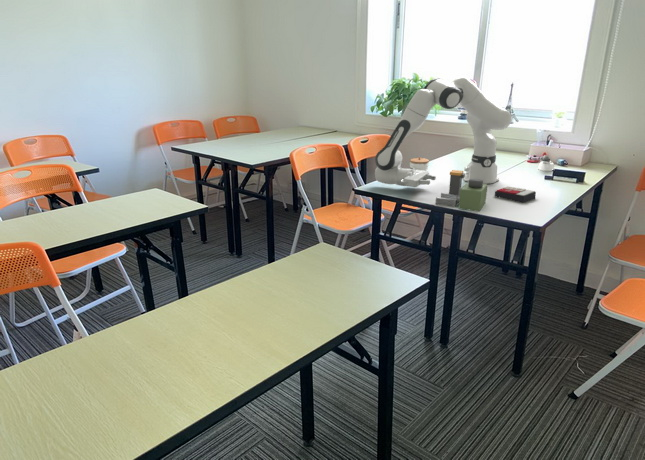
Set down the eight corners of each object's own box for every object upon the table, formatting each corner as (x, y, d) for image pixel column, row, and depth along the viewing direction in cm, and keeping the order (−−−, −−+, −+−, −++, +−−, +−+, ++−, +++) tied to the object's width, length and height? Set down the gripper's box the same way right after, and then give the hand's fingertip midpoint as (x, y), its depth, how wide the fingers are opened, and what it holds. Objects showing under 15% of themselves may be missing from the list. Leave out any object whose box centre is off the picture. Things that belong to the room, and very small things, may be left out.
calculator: (507, 185, 233) (536, 190, 222) (506, 194, 234) (535, 199, 223) (494, 189, 226) (524, 194, 215) (494, 198, 228) (523, 203, 217)
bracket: (435, 203, 217) (436, 197, 216) (441, 198, 225) (441, 192, 224) (455, 206, 213) (455, 200, 212) (460, 201, 220) (460, 195, 219)
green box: (458, 208, 211) (460, 182, 206) (464, 200, 221) (467, 175, 217) (479, 211, 206) (482, 184, 202) (485, 203, 217) (488, 177, 213)
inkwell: (555, 168, 279) (558, 152, 275) (551, 175, 265) (554, 157, 261) (538, 167, 283) (541, 150, 280) (533, 173, 269) (536, 156, 266)
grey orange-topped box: (447, 196, 228) (449, 172, 223) (450, 194, 232) (452, 169, 228) (461, 198, 225) (463, 173, 221) (463, 195, 229) (465, 171, 225)
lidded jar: (405, 172, 276) (406, 156, 273) (421, 170, 280) (422, 154, 277) (416, 176, 267) (417, 159, 264) (431, 174, 271) (432, 157, 268)
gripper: (398, 175, 228) (426, 178, 222) (412, 167, 245) (438, 169, 239) (398, 188, 231) (425, 191, 224) (412, 179, 247) (437, 181, 241)
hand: (432, 180), depth 232 cm, fingers open, 8 cm apart
